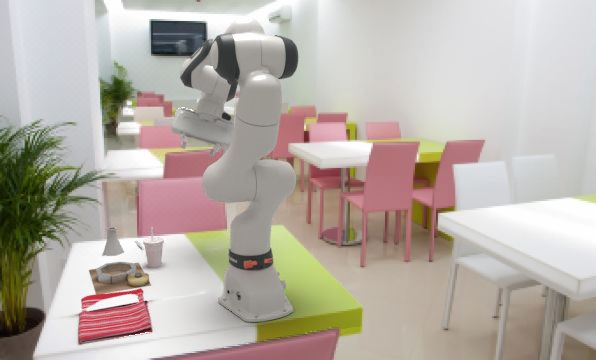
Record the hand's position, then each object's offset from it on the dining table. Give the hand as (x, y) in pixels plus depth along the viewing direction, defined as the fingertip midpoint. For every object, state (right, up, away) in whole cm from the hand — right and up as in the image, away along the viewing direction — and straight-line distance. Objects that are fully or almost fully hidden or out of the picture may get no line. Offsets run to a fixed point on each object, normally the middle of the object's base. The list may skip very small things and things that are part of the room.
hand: (197, 151), depth 163 cm
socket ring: (-22, -38, -10) cm, 45 cm away
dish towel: (-15, -45, -32) cm, 57 cm away
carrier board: (-21, -39, -10) cm, 46 cm away
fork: (-24, -34, +19) cm, 46 cm away
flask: (-31, -35, +11) cm, 48 cm away
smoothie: (-14, -38, 0) cm, 40 cm away
